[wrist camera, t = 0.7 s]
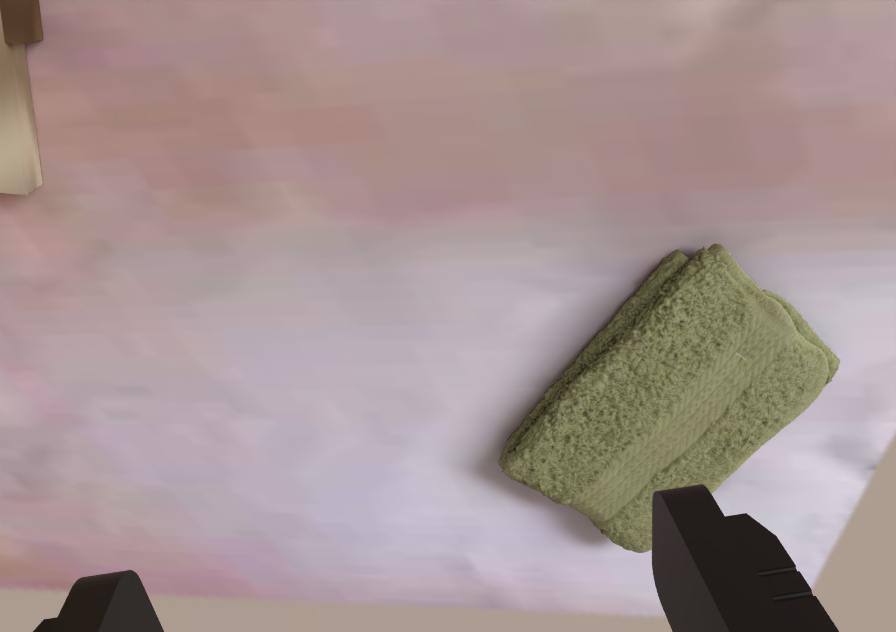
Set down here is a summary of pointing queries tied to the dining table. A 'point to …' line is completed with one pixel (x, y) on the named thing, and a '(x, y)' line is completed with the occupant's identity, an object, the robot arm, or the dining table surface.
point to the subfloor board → (18, 98)
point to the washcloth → (670, 395)
